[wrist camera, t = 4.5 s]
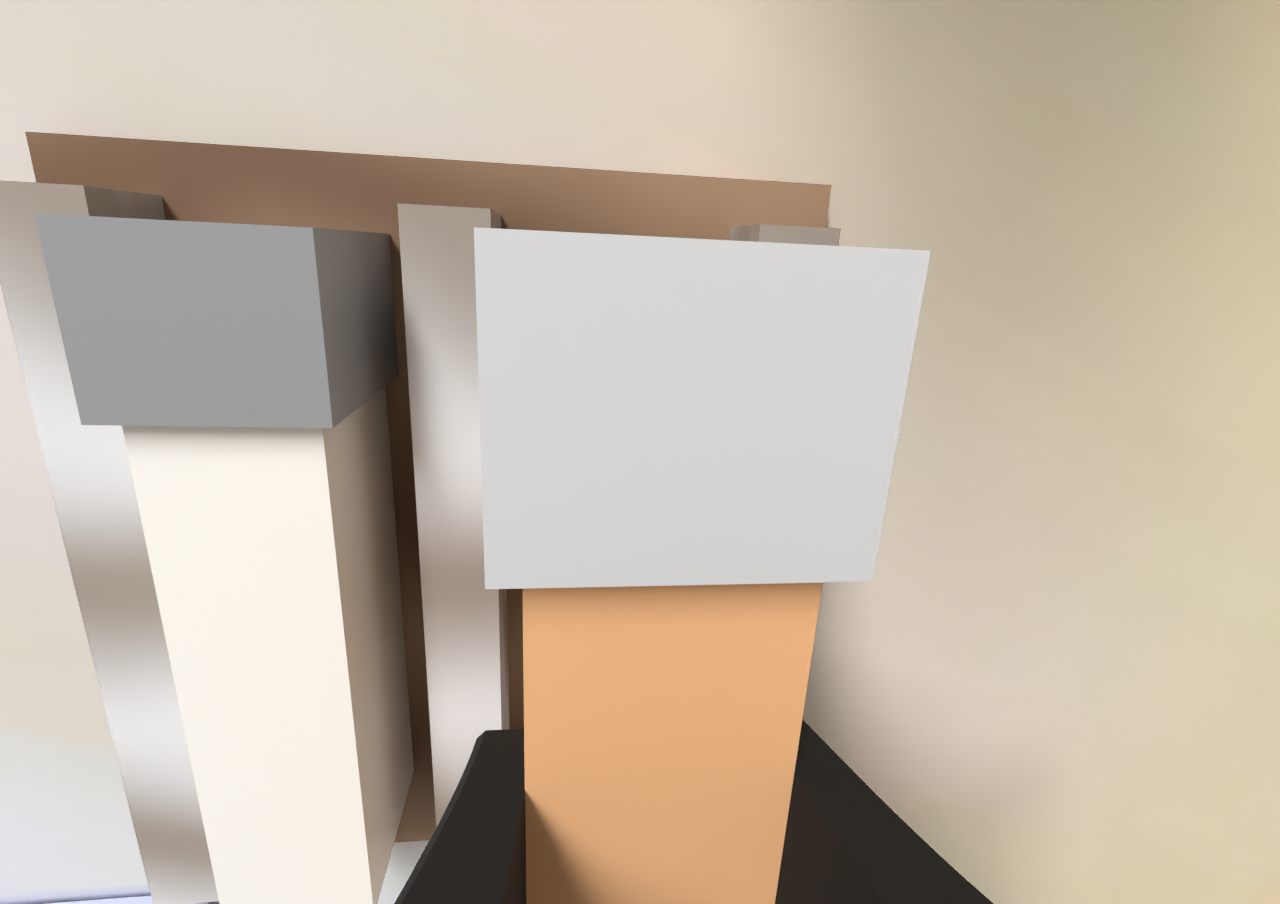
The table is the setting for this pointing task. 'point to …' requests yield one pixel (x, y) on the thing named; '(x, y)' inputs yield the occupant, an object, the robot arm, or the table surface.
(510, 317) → the capped square column
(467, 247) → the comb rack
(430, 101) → the table surface
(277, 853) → the capped white pillar
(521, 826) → the robot arm
